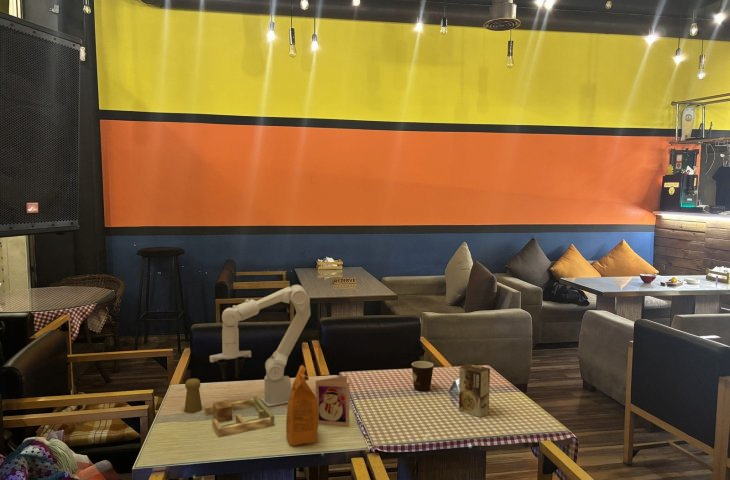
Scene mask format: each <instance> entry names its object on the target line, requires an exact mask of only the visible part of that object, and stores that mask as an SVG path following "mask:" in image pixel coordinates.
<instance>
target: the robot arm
mask: <svg viewBox="0 0 730 480" xmlns="http://www.w3.org/2000/svg"><path fill="white" fill-rule="evenodd" d="M310 301H311V299H310V297H309V295H308V293H307V291H306V290H305V288H304V287H303V286H302V285H300V284H294V285H291V286H287V287H285V288H282V289H280V290H278V291H276V292H273V293H271V294H270V295H266V296H264V297H262V298H261V299H258V300H255V299H252V298H251V299H248V298H247V299H245V300H244V302H242V303H239V304H237V305H232V307H227V308H225V309H224V310H223V311H222V314H221V321H222V324H221V325H222V329H221V331H222V332H221V339H222V340H221V342H222V352H221V353H217V354H212V355H209V362H210V363H215V362H217V364H218V367H219V368H220V371H221V374H222V380H223V381H227V377H228V376H227V366H228V365H227V364H228V363H227V361H226V360H233V359H234V364H235V366H234V367H235V368H234V370H235V372H234V373H235V374H234V375H235V378H236V379H239V378H240V373H241V370H242V368H243V366H244V364H245V361H246V359H245V358H252V351H251V350H240V347H239V346H240V344H239V343H240V341H239V338H240V336H239V334H240V332H239V331H240V330H239V327H238V326H239V325H238V324H239V322H240V321H241V322H242V321H245V320H246V319H250V318H251V317H253V316H256V315H258V314H259V312H260V310H262V309H264V308H268V307H270V306H273V305H275V304H277V303H281V302H282V303H284V304H285V303H286V304H290V302H291V303H292V304H293V306H294V309H295V311H296V313H295V315H294V316H293V318H292V321H291V322H290V325H289V326H288V328H287V330H286V332H285V333H284V336H283V337H282V339H281V341H280V343H279V345H278V347H277V349H276V350H275V351H274V352H273V353H272V355H271V356H270V357H269V358H268V359H266V361H265V363H264V368H265V372H266V375H265V376H264V397H261V398H260V401H261V402H262V403H263V404H264V405H265V406H266V407H274V406H279V405H284V404H288V402H289V398H290V394H291V389H292V381H291V378H290V377H289V375H285V367H286V366H287V362H288V358H289V356H290V355H291V352H292V351H293V348H294V347H295V345H296V343H297V342H298V339H299V338H300V336H301V334H302V332H303V330H304V328H305V326H306V325H307V323H308V320H309V319H310V317H311V315H312V314H311V304H310V303H311V302H310Z"/></svg>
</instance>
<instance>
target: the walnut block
mask: <svg viewBox="0 0 730 480" xmlns="http://www.w3.org/2000/svg"><path fill="white" fill-rule="evenodd" d="M230 403H231V402H230V401H229V400H221V401H216V402H215V401H214V402H213V405H212V406H213V414H212V415H213V416H214V417H213V419H216V420H217V421H218V423H219V422H221V423H225V421H226V422H231V421H233V420H234V419H233V411H232V405H231V404H230ZM219 424H220V423H219Z"/></svg>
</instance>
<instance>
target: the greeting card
mask: <svg viewBox="0 0 730 480" xmlns="http://www.w3.org/2000/svg"><path fill="white" fill-rule="evenodd" d="M350 383H351V382H348V375H343V376H342V375H341V376H337V377H330V378H324V379H318V380H315V397H316V400H317V407H318V420H319V421H318V426H319V425H320V426H322V425H323V426H335V427H348V428H349V427H350V396H351V395H350Z"/></svg>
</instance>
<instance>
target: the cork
mask: <svg viewBox="0 0 730 480" xmlns="http://www.w3.org/2000/svg"><path fill="white" fill-rule="evenodd" d="M184 387H185V389H186V392H185V393H186V394H185V402H184V412H185V413H187V414H197V413H199V411H200V412H201V411H202V410H203V405H202V399H201V393H200V392H201V391H200V388H201V380H200V379H198V378H188V379H187V380H186V382H185V383H184ZM196 412H197V413H196Z"/></svg>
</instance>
